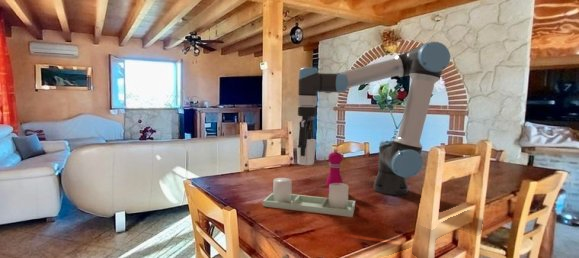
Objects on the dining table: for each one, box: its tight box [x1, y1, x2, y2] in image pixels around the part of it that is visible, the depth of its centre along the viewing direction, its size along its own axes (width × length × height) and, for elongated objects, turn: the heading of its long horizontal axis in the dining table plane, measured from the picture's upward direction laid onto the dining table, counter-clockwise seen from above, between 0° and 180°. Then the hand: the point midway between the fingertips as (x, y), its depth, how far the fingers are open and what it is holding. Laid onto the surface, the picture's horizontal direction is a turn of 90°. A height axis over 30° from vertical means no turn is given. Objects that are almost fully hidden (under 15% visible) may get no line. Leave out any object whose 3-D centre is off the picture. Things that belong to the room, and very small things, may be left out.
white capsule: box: [272, 177, 293, 203], centre depth 121 cm, size 7×7×9 cm
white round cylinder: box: [328, 183, 349, 210], centre depth 115 cm, size 7×7×9 cm
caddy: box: [262, 192, 356, 218], centre depth 118 cm, size 33×12×3 cm, turn 74°
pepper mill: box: [325, 148, 344, 194], centre depth 136 cm, size 7×7×20 cm
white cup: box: [296, 138, 317, 166], centre depth 129 cm, size 8×8×10 cm
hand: (305, 161), depth 129 cm, fingers closed on white cup, 8 cm apart
